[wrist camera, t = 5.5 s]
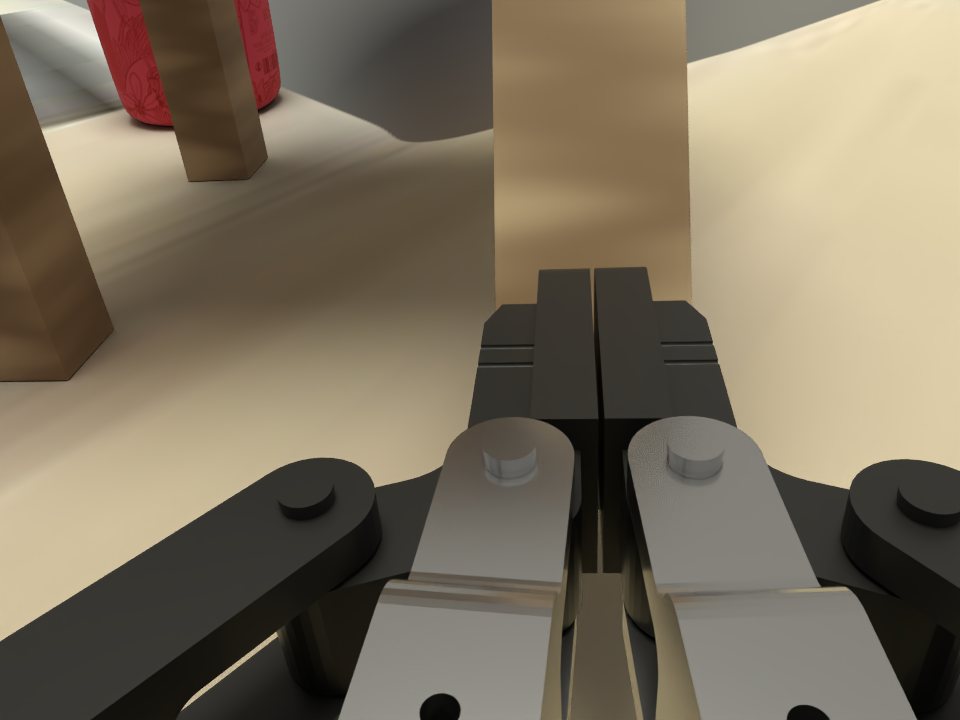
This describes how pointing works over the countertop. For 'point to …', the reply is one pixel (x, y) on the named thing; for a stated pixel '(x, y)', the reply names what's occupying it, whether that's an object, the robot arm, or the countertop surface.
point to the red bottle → (137, 66)
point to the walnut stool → (44, 208)
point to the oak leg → (590, 142)
